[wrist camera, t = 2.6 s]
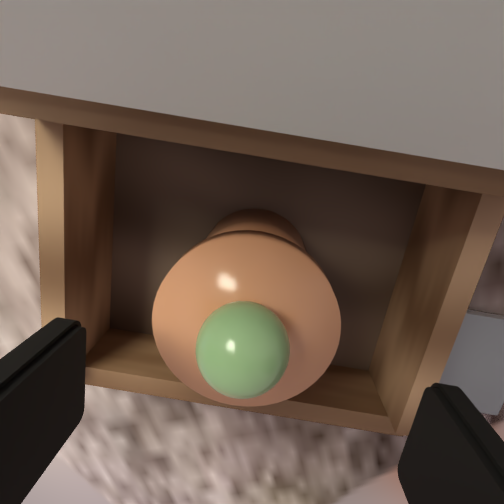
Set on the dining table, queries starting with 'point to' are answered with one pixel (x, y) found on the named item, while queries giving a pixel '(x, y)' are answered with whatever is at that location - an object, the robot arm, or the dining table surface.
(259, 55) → the lid
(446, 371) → the slate tile
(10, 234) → the dining table surface
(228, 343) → the terracotta pot
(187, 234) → the open wooden box
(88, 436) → the dining table surface
